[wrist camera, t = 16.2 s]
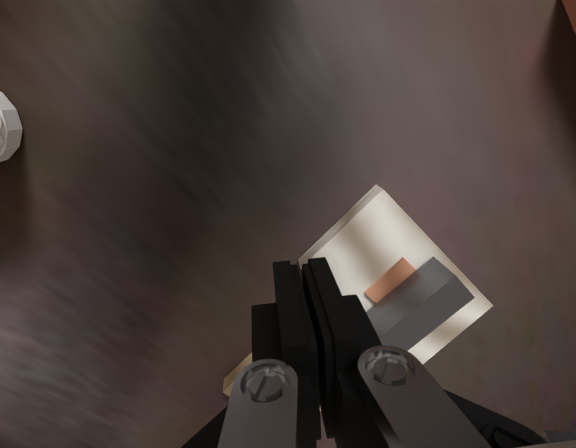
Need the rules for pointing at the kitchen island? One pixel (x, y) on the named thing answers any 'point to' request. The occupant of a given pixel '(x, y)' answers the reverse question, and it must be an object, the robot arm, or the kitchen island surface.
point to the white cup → (9, 128)
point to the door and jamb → (383, 266)
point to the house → (571, 12)
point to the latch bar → (418, 305)
